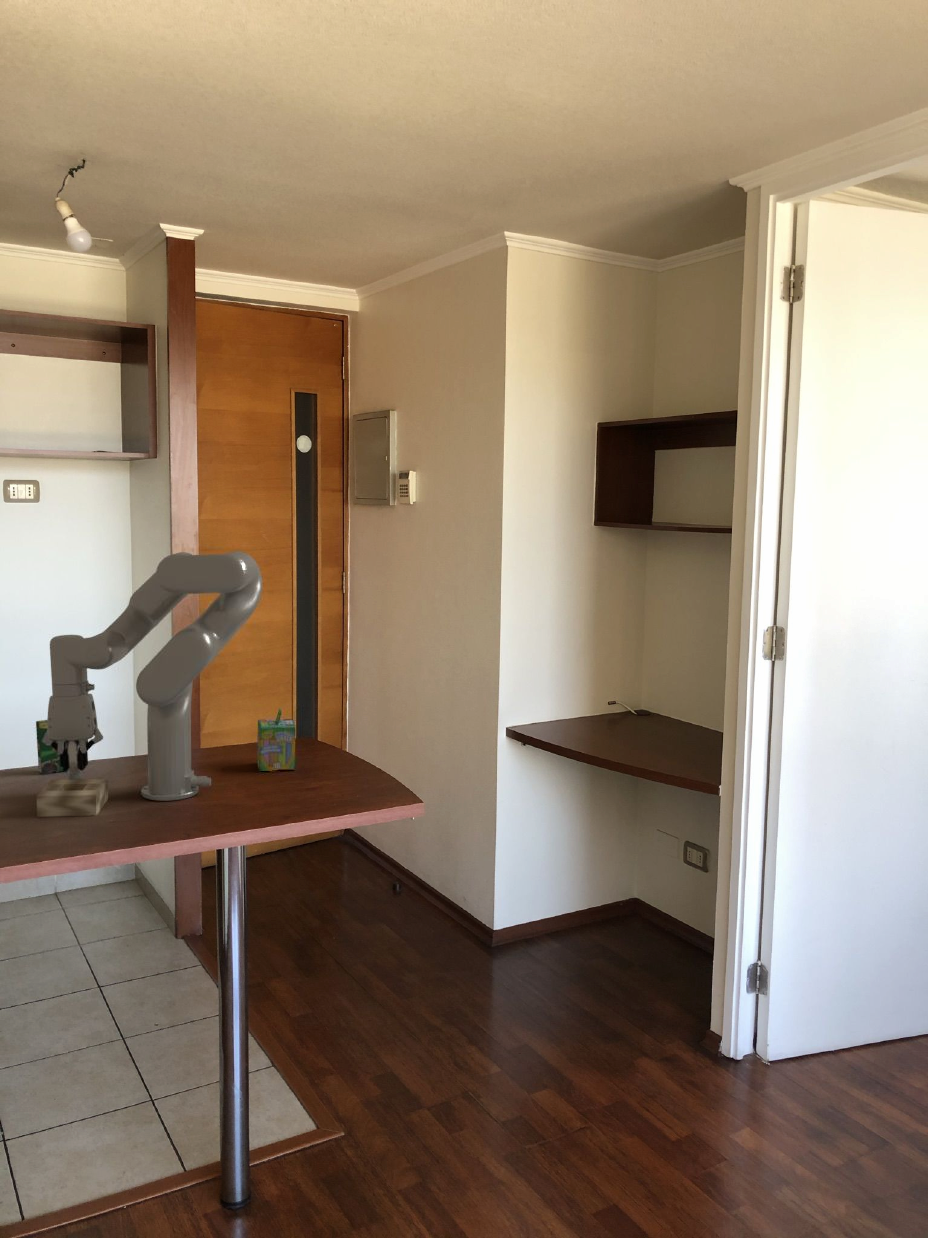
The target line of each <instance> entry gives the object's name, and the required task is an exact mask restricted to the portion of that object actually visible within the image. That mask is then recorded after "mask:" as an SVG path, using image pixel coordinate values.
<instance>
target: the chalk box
mask: <svg viewBox="0 0 928 1238" xmlns="http://www.w3.org/2000/svg"><path fill="white" fill-rule="evenodd" d="M281 715H282V709H281V708H280V707H279V708H278V712H277V715H276V718H271V719H267V718H266V719H265V718H264V719H258V720H257V749H256V751H257V752H256V763H257V767H258V768H257V769H258V772H259V771H270V772H273V771H272V770H278V769H295V770H296V724H295V721H294V719H293V718H281Z"/></svg>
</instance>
